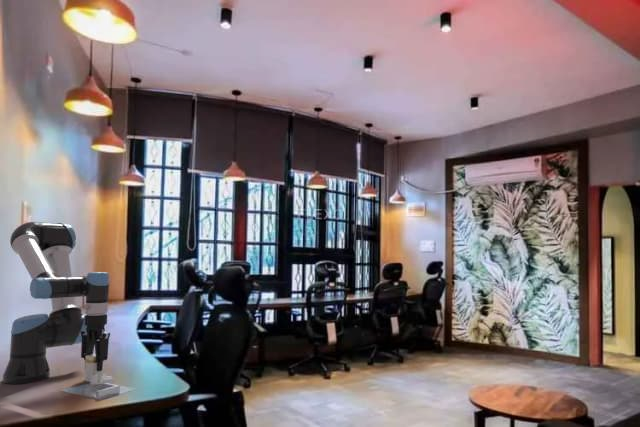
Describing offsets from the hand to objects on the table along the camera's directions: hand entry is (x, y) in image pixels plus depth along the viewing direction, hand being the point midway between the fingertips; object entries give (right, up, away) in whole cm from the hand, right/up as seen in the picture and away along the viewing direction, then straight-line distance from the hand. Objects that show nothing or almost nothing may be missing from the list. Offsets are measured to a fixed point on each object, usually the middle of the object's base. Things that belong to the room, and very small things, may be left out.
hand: (93, 379), depth 171 cm
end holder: (+11, +1, -17) cm, 20 cm away
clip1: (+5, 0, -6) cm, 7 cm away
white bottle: (0, -1, 0) cm, 1 cm away
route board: (+8, 0, -12) cm, 15 cm away
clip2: (+9, 0, -10) cm, 13 cm away
